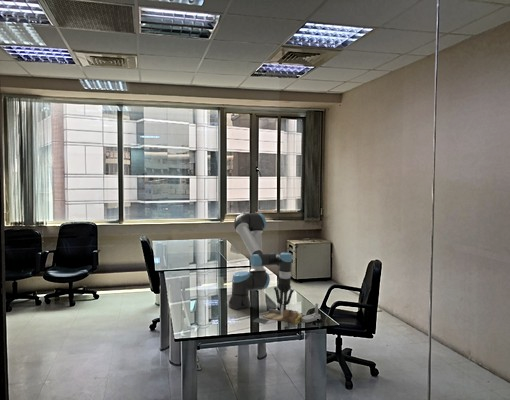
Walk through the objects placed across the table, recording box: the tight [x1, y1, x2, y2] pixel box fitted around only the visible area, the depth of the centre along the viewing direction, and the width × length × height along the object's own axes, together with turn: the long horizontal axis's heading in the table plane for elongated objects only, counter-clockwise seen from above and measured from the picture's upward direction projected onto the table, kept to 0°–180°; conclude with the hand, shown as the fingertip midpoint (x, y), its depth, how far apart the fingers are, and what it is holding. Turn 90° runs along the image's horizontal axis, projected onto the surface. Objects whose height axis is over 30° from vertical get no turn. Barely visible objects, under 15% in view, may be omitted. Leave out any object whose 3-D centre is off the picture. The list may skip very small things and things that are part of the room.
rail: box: [268, 308, 303, 325], centre depth 255 cm, size 22×11×4 cm, turn 67°
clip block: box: [282, 308, 299, 324], centre depth 252 cm, size 8×5×7 cm, turn 67°
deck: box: [262, 311, 283, 322], centre depth 255 cm, size 21×11×1 cm, turn 67°
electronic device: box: [300, 303, 321, 324], centre depth 256 cm, size 5×10×15 cm
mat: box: [252, 317, 270, 325], centre depth 248 cm, size 8×8×1 cm
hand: (282, 314), depth 254 cm, fingers closed
